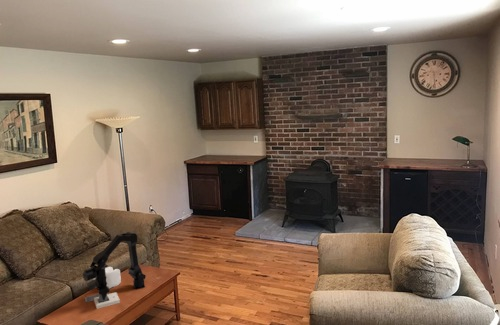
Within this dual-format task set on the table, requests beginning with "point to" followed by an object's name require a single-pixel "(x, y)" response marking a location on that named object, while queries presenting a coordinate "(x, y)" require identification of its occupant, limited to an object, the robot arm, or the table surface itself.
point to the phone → (91, 298)
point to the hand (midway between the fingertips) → (103, 298)
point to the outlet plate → (111, 300)
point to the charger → (102, 298)
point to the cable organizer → (112, 277)
